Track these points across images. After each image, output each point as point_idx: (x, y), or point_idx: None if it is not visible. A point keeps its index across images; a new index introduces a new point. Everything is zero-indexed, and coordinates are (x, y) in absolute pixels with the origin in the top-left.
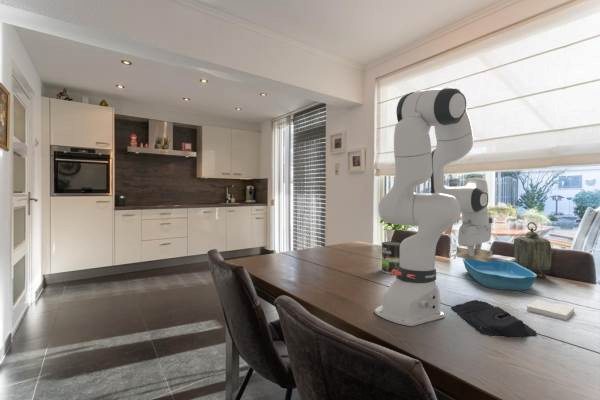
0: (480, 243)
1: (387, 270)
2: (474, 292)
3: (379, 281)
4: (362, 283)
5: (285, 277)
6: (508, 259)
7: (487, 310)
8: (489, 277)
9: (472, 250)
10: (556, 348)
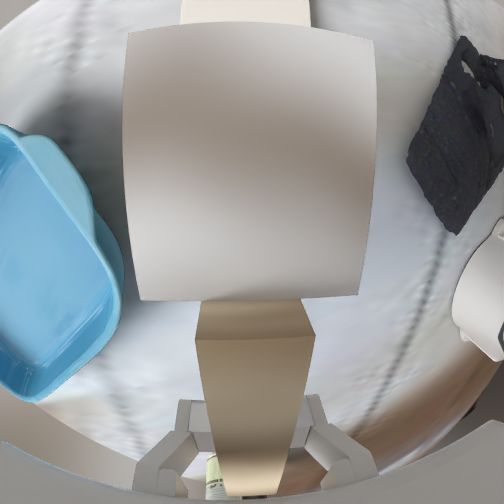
0: (168, 492)
1: None
2: None
3: None
4: (380, 430)
5: (408, 458)
6: (333, 51)
7: (492, 135)
8: (116, 265)
9: (340, 436)
10: (477, 19)
